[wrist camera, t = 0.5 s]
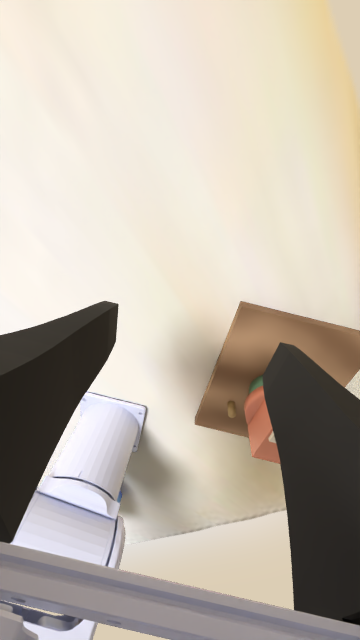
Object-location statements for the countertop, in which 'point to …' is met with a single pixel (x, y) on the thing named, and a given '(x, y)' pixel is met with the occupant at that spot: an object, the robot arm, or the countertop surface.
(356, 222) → the countertop surface
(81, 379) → the robot arm
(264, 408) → the lid
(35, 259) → the countertop surface
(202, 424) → the board
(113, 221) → the countertop surface
